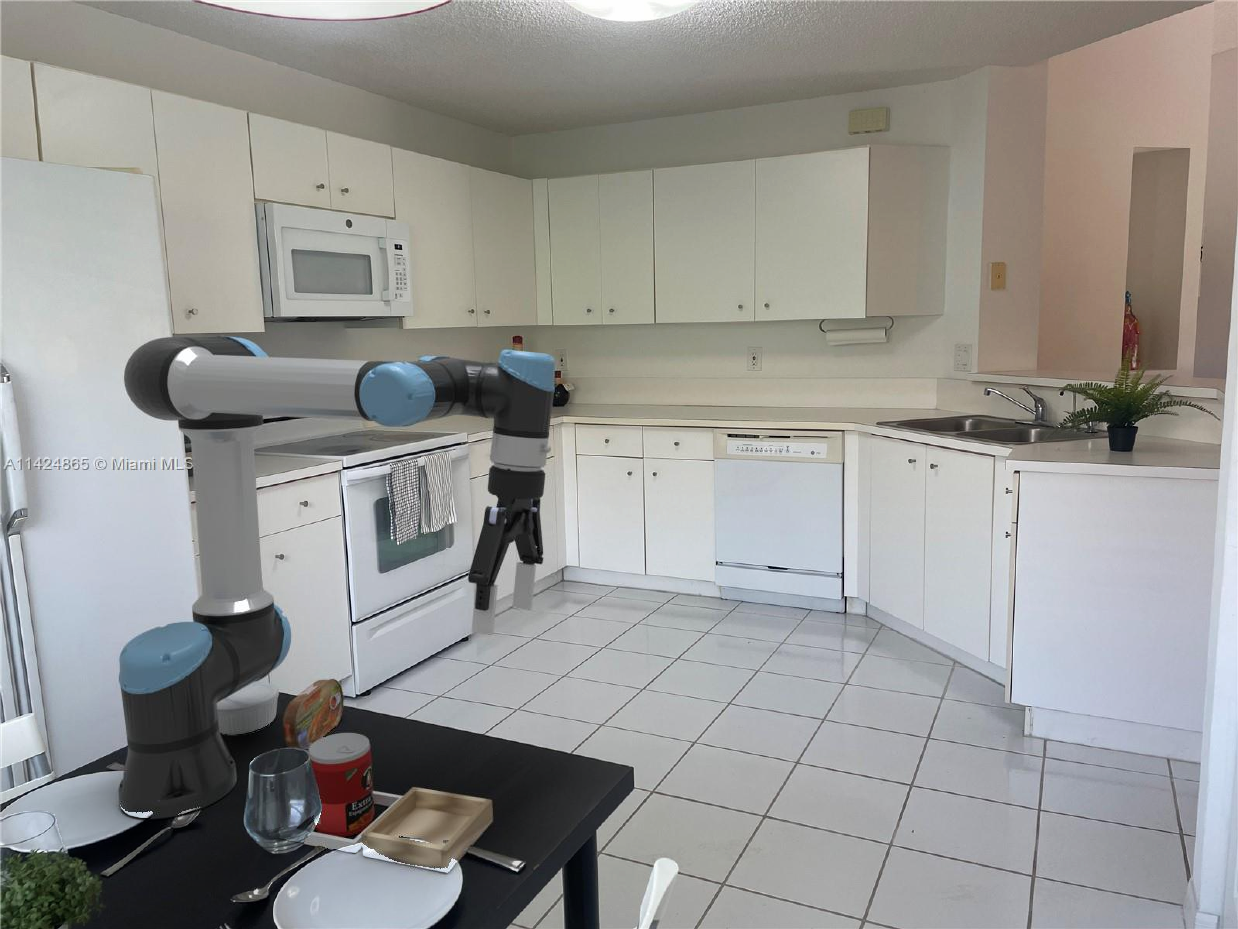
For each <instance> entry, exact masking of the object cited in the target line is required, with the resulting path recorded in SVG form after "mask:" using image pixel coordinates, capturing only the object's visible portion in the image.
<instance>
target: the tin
mask: <svg viewBox="0 0 1238 929" xmlns="http://www.w3.org/2000/svg"><path fill="white" fill-rule="evenodd" d="M343 710H344V692H343V688H342V685H341V684H340V682H339V681H338V680H337V679H335V678H328V679H319V680H316V681H314V682H313V683H312V684H310V686H308V687H307V688H305V689H304V690H303V691H301V693H300V694H298V695H297V696H295V697H294V698H293V699H292V700H290V702H289V703H288V704H287V706H286V708H285V711H284V713H283V718H282V727H283V737H284V741H285V742H284V743H285V745H286V746H287V747H288V748H289V747H299V748H304V749H308V750H309V747H310V746H311V745H312V744H313V743H314V742H315V741H317V740H319V739H321V738H323V736H325V735H326V734H327V732H330V730H331V729H333V728H334V727H335V726H336V727H337V726H338V725H339V723H340V720H341V718H342V715H343ZM333 730H334V729H333ZM330 733H331V732H330Z"/></svg>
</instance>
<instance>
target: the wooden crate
mask: <svg viewBox="0 0 1238 929" xmlns="http://www.w3.org/2000/svg"><path fill="white" fill-rule="evenodd" d="M402 796H403V797H402V798H401V799H399V800H398V801H397V802H396V803H395V804H394V805H393V806H392V807H391V808H390V809H389V810H387V809H386V810H387V811H386V810H385V811H386V812H385V813H384V814H383V815H382V816H381V817H380V818H379V819H378V820H377V821H375V820H374V821H375V822H374V821H373V822H374V823H373V824H372V825H371V826H370V827H369V828H368V829H367V830H366V831H365V832H364V833H362V832H361V833H362V834H361V837H362V843H363V844H364V845H366V846H367V847H368V848H370V849H374V850H375V851H376V852H377V853H379V855H380V854H381V855H384V856H385V857H388V858H389V859H392V860H394V861H397V862H401V863H405V864H410V865H414V866H415V865H417V866H423V867H429V868H434V869H435V868H440V869H441V868H445V867H446V868H448V866H449V863H450V862H451V859H452V858H453V859H455V860H458V862H460V860H461V859H462V858H463V857H464V856H465V855H466V853H467V852H466V851H465V849H466V848H467V846H470V845H472V846H474V844H475V843H476V842H477V840H479V838H480V837H481V836H482V835H483V833H484V832H485V831H486V830H487V829H488V827H490V825H491V824H492V823H493V822H494V814H493V812H494V811H493V800H492V799H489V798H488V799H487V798H484V797H483V798H482V797H476V796H471V795H464V794H459V793H451V792H447V791H439V790H433V789H427V788H422V787H416V786H413V787H411V788H410V789H409V790H408V791H407V792H406V793H405V794H404V795H402ZM399 836H400V837H401V836H403V837H410V838H421V839H423V840H425V841H427V842H431V843H433V844H431V843H426V842H420V841H415V840H410V839H405V838H399ZM443 840H449V841H448V842H447V843H446V844H445V843H443Z"/></svg>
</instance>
